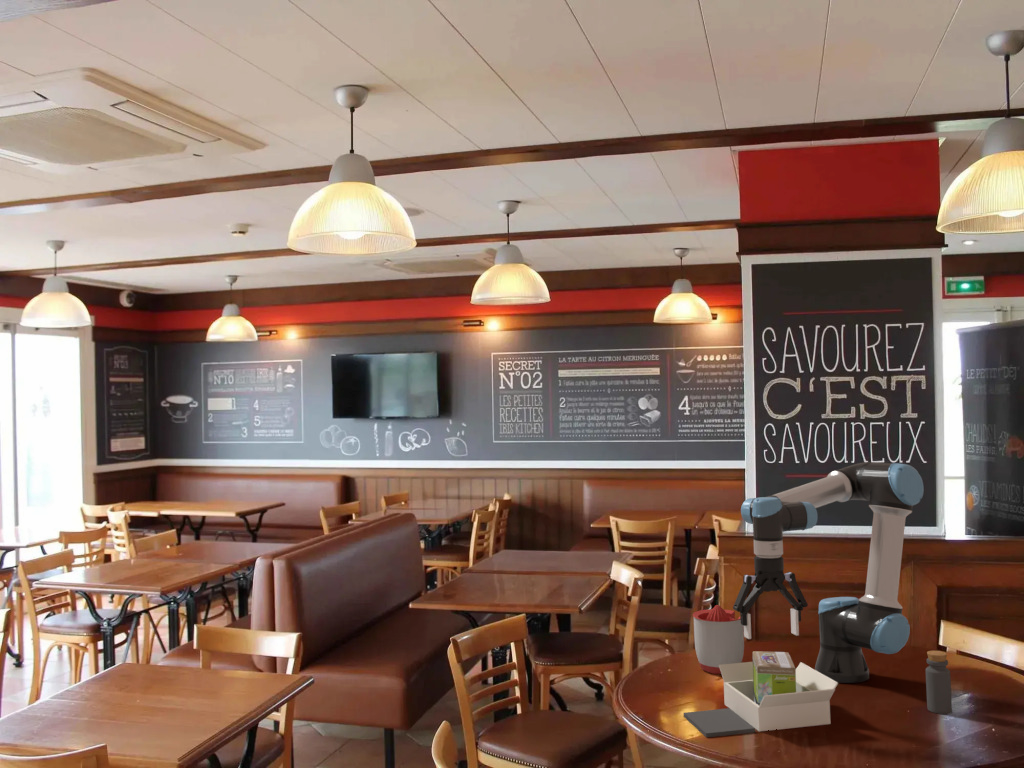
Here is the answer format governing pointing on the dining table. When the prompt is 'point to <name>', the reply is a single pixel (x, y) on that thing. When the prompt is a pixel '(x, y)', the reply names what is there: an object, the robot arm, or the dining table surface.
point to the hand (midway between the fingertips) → (771, 636)
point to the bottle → (938, 683)
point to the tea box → (772, 674)
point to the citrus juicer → (718, 638)
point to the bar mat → (718, 722)
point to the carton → (779, 698)
